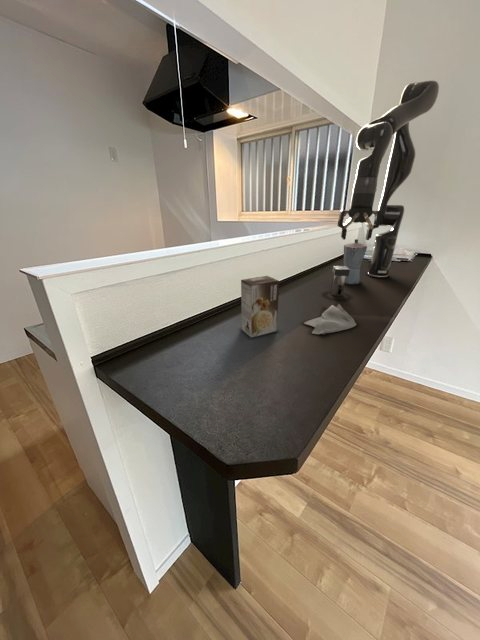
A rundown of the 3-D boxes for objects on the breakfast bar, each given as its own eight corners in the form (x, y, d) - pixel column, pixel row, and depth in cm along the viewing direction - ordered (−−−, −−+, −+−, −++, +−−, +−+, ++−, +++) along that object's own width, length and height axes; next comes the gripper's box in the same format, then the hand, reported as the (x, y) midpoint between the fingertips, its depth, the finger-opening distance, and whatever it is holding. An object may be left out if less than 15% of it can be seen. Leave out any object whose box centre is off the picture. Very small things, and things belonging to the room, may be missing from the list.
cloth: (338, 342, 74) (339, 335, 73) (295, 327, 82) (296, 321, 81) (369, 314, 91) (370, 308, 90) (331, 304, 100) (332, 298, 99)
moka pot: (337, 286, 120) (344, 240, 111) (339, 277, 132) (345, 235, 124) (359, 288, 116) (369, 242, 108) (359, 279, 129) (367, 237, 121)
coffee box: (265, 323, 85) (267, 274, 78) (277, 331, 80) (280, 280, 73) (240, 329, 81) (240, 279, 74) (251, 338, 76) (251, 285, 69)
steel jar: (329, 291, 110) (333, 265, 105) (342, 292, 109) (346, 266, 105) (332, 297, 104) (336, 270, 99) (346, 298, 103) (351, 271, 98)
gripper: (381, 192, 96) (371, 238, 103) (340, 192, 98) (334, 237, 104) (389, 192, 89) (378, 241, 96) (345, 191, 91) (337, 240, 97)
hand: (355, 239), depth 100 cm, fingers open, 8 cm apart
